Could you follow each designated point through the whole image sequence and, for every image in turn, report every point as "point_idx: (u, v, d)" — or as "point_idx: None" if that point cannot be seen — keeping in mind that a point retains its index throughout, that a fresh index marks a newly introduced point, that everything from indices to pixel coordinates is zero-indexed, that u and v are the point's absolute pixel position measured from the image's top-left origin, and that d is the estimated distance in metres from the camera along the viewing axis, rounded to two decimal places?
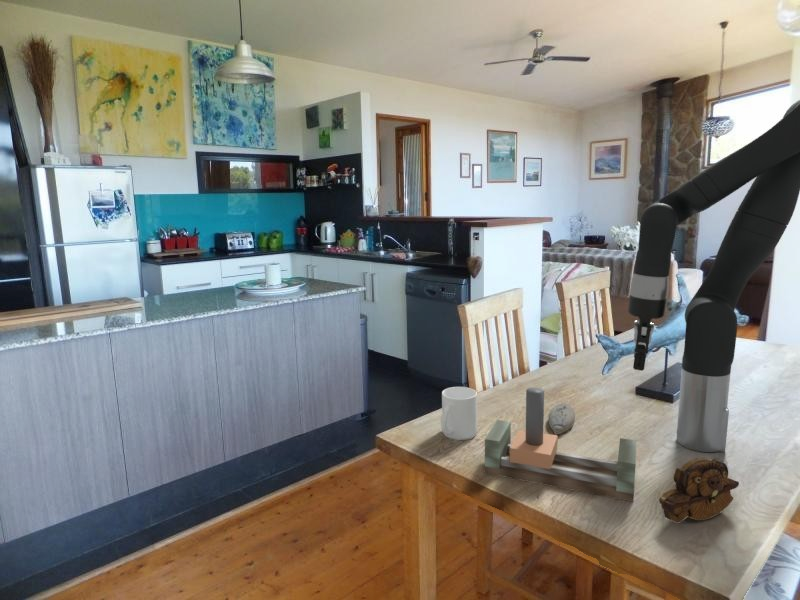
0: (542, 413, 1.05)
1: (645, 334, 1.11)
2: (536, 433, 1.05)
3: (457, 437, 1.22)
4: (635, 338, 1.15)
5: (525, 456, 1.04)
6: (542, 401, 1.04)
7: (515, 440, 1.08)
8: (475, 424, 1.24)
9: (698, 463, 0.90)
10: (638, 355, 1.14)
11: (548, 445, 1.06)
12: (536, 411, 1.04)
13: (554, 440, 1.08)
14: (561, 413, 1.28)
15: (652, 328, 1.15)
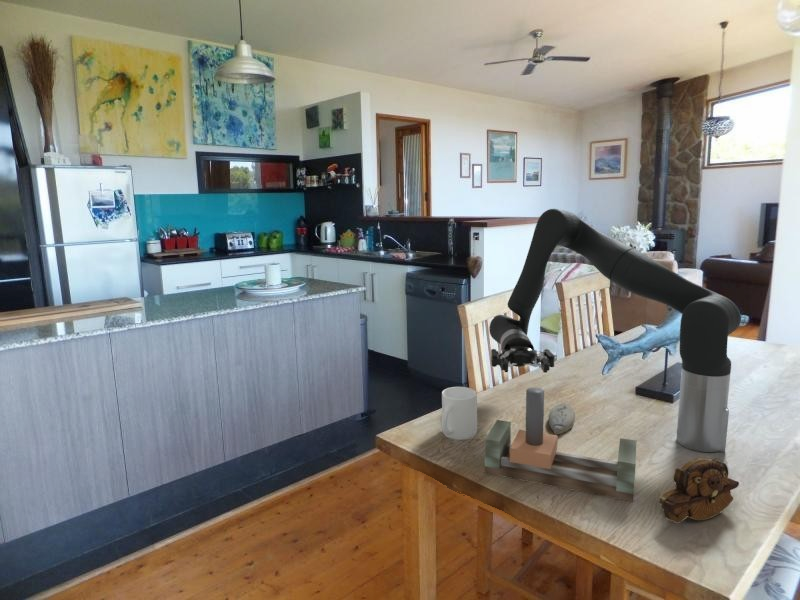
0: (542, 413, 1.05)
1: None
2: (536, 433, 1.05)
3: (457, 437, 1.22)
4: None
5: (525, 456, 1.04)
6: (542, 401, 1.04)
7: (515, 440, 1.08)
8: (475, 424, 1.24)
9: (698, 463, 0.90)
10: (500, 364, 1.20)
11: (548, 445, 1.06)
12: (536, 411, 1.04)
13: (554, 440, 1.08)
14: (561, 413, 1.28)
15: None
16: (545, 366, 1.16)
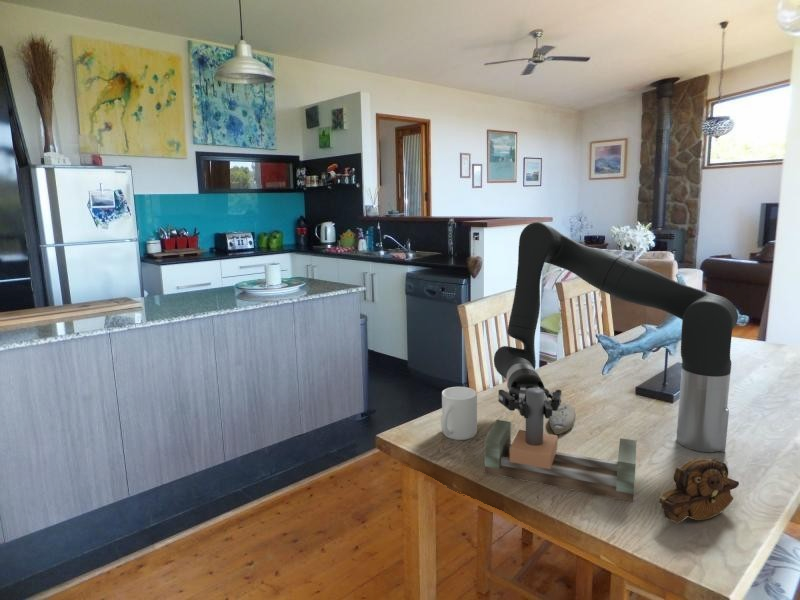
0: (542, 413, 1.05)
1: (501, 396, 1.12)
2: (536, 432, 1.05)
3: (457, 437, 1.22)
4: None
5: (525, 456, 1.04)
6: (542, 401, 1.04)
7: (515, 440, 1.08)
8: (475, 424, 1.24)
9: (698, 463, 0.90)
10: (518, 408, 1.07)
11: (548, 445, 1.06)
12: (536, 411, 1.04)
13: (554, 440, 1.08)
14: (562, 413, 1.28)
15: None
16: (547, 411, 1.03)
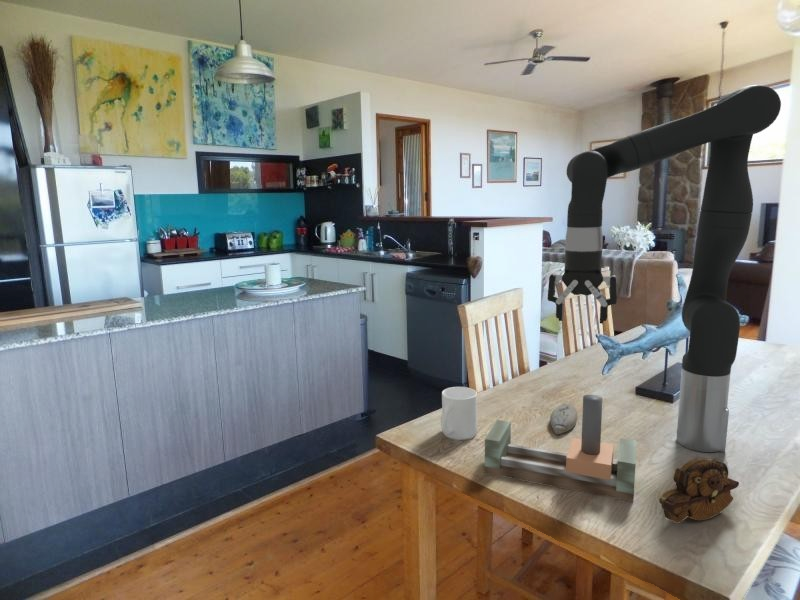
0: (600, 421, 1.00)
1: (616, 283, 1.11)
2: (594, 441, 1.01)
3: (457, 437, 1.22)
4: (599, 293, 1.11)
5: (583, 466, 0.99)
6: (600, 409, 1.00)
7: (570, 449, 1.04)
8: (475, 424, 1.24)
9: (698, 463, 0.90)
10: (607, 307, 1.12)
11: (606, 454, 1.01)
12: (594, 419, 1.00)
13: (611, 449, 1.03)
14: (563, 413, 1.28)
15: None
16: None
